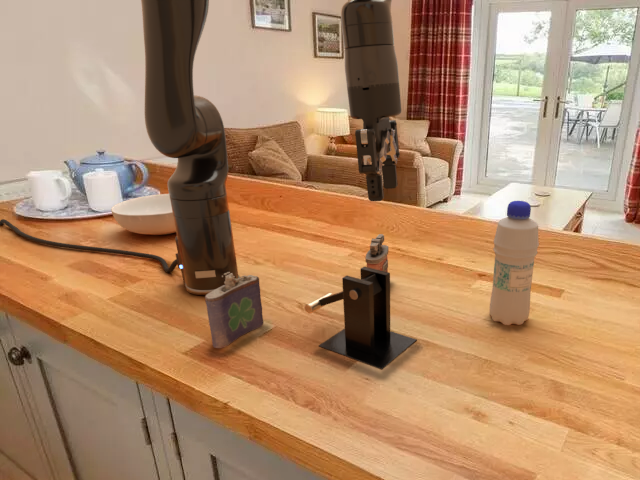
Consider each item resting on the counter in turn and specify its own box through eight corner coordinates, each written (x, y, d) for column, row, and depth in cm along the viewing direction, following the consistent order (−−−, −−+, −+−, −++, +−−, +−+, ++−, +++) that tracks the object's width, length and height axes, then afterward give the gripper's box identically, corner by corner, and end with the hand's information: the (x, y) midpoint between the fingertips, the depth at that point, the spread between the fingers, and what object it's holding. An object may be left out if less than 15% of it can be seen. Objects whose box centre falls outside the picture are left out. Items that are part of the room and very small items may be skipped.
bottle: (504, 336, 75) (516, 209, 67) (478, 318, 81) (487, 198, 73) (538, 326, 78) (553, 203, 70) (511, 309, 83) (523, 193, 76)
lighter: (381, 300, 87) (380, 246, 83) (362, 298, 87) (361, 245, 83) (391, 282, 94) (391, 232, 90) (374, 280, 94) (373, 231, 91)
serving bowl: (151, 216, 134) (146, 191, 131) (224, 220, 131) (220, 194, 128) (96, 240, 115) (89, 212, 112) (180, 245, 112) (174, 216, 109)
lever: (308, 317, 72) (301, 302, 72) (330, 304, 76) (324, 290, 76) (366, 299, 65) (359, 282, 64) (387, 286, 68) (381, 270, 68)
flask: (222, 356, 69) (210, 287, 65) (207, 351, 70) (195, 282, 66) (268, 329, 77) (261, 265, 72) (255, 324, 78) (246, 261, 74)
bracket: (318, 353, 70) (313, 277, 66) (357, 327, 77) (354, 257, 73) (382, 376, 65) (380, 296, 60) (417, 347, 72) (418, 272, 67)
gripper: (362, 83, 78) (373, 185, 84) (330, 85, 65) (346, 206, 71) (409, 79, 76) (416, 183, 82) (385, 81, 63) (396, 204, 69)
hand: (384, 194), depth 76 cm, fingers open, 8 cm apart
